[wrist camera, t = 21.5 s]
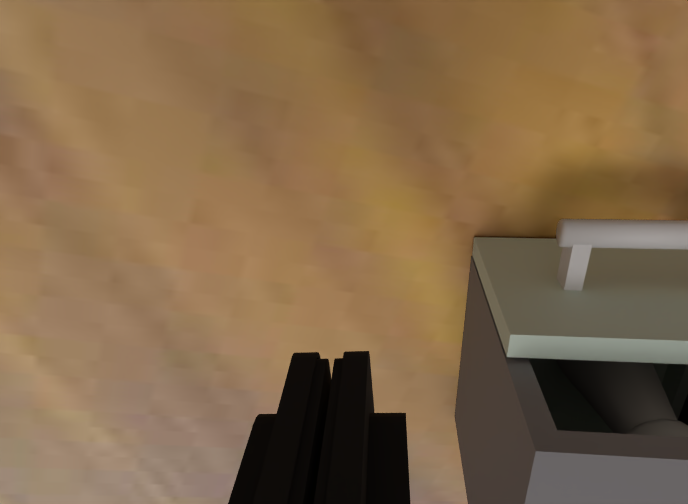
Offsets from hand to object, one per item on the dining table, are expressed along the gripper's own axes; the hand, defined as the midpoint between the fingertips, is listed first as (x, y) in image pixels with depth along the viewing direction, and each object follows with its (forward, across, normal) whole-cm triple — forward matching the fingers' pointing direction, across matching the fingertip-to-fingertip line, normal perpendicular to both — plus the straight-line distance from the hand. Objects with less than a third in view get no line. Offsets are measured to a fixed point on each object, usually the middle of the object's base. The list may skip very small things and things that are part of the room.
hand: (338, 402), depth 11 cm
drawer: (+24, -16, +14) cm, 32 cm away
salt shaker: (+23, -16, +15) cm, 32 cm away
